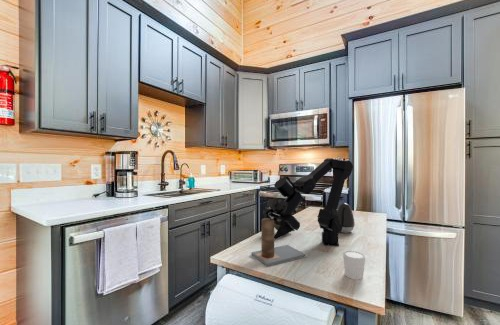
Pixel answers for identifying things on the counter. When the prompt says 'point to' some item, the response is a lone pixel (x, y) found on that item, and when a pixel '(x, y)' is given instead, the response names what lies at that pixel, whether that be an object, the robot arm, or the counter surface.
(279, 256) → the slate board
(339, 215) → the dark grey tapered dome
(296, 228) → the robot arm
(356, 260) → the white cup
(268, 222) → the walnut roller
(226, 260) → the counter surface
